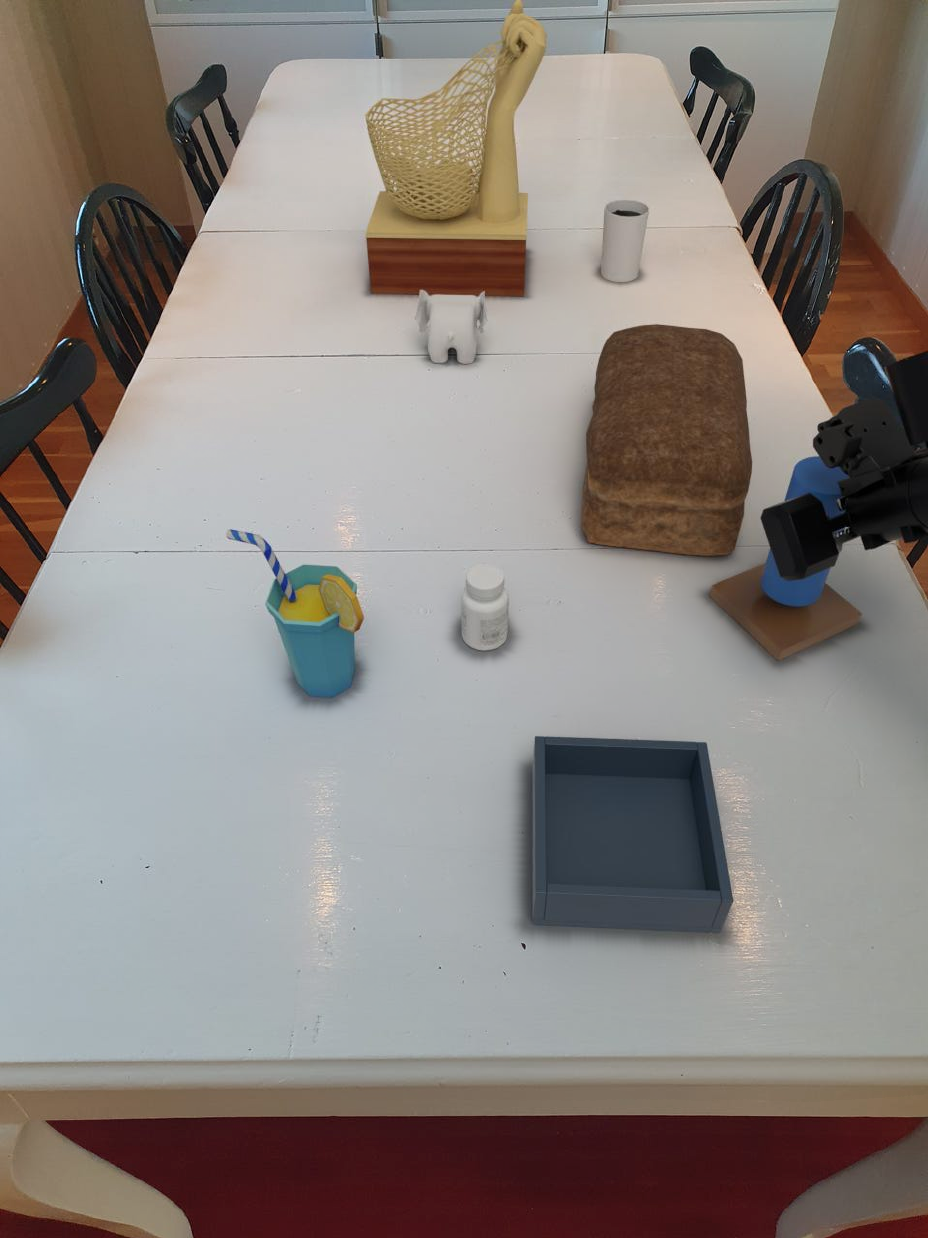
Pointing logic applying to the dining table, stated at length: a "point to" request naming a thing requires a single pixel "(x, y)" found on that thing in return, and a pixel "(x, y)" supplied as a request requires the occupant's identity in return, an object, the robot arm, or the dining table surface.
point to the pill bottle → (484, 608)
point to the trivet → (782, 614)
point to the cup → (313, 620)
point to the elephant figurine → (451, 324)
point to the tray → (627, 836)
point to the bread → (667, 442)
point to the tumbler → (825, 487)
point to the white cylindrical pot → (623, 239)
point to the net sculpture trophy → (456, 182)
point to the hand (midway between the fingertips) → (797, 526)
